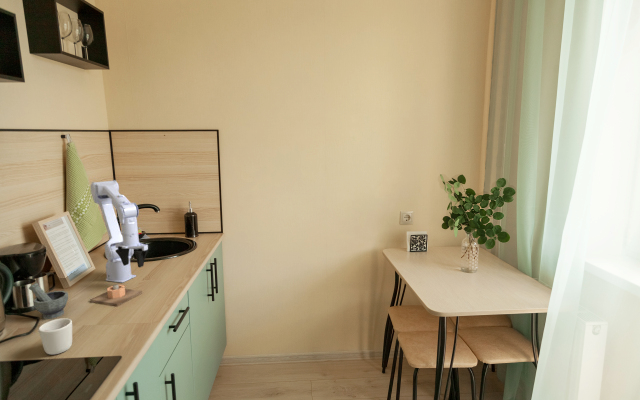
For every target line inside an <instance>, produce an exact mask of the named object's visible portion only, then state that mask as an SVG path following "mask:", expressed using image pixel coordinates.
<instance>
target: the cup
mask: <svg viewBox="0 0 640 400" xmlns="http://www.w3.org/2000/svg"><path fill="white" fill-rule="evenodd" d="M38 333H39V337H40V340H41V343H42V348H43V350H44V352H45V353H46V354H47V355H59V354H61V353H64V352H66V351H68V350H69V349H70V348H71V347H72V344H73V321H72V319H70V318H67V317H66V318H65V317H64V318H62V317H61V318H55V319H51V320H49V321H47V322H44V323H43V324H42V325H40V326H39V328H38Z"/></svg>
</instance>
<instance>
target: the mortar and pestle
mask: <svg viewBox="0 0 640 400" xmlns="http://www.w3.org/2000/svg"><path fill="white" fill-rule="evenodd" d="M28 289H29V290H30V291H31V292H32V293H33V294H34V296H35V298H34V299H33V305H34V306H33V307H34V309H35V310H36V311H37V312H38V313H41V314H42V319H44V320H54V319H58V318H60V317H62V316H63V315H64V314H65V310H64V309H65V308H66V305H67V303H68V301H69V292H68V291H65V290H53V291H49V292H45V291H44V290H43V289H42V288H41V287H40V285H39V283H38V282H35V283H32V284H31V285H30V286H29V287H28Z"/></svg>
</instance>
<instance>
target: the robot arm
mask: <svg viewBox="0 0 640 400" xmlns="http://www.w3.org/2000/svg"><path fill="white" fill-rule="evenodd" d="M90 194H91V196H92V197H91V198H92V200H93V202H94V203H95V204H97V205H98V206H99V208H100V211H101V214H102V217H103V221H104V225H105V227H106V231H107V234H108V237H109V239H108V240H107V241H106V242H105V244H104V252H105V257H106V259H107V261H106V263H105V271H106V279H105V281H107V282H108V281H109V282H112V283H113V282H115V283H124V282H127V281H129V280H132V279H133V278H135V277H137V275H136V274H132V267H131V259H132V256H133V255H135V259H136V263H137V267H138V268H142V267H144V265H145V259H146V256H147V255H148V252H149V245H148V244H144V243H141V242H140V239H139V228H138V217H139V213H140V210H139V207H138V205H137V204H136V202H131V201H130V200H129V199H128V198H127V196H125V195H123V194H121V193H120V186H119V183H118V182H117V180H116V179H114V180H106V181H104V180H103V181H96V182H95V181H92V182H91V183H90ZM114 208H115V209H114ZM115 210H116V211H115ZM115 212H117V216H118V217H117V216H116V213H115ZM118 219H119V223H118ZM119 224H120V225H121V226H120V225H119ZM120 227H121V230H120ZM134 250H135V251H134Z"/></svg>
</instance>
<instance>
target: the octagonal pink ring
mask: <svg viewBox="0 0 640 400" xmlns="http://www.w3.org/2000/svg"><path fill="white" fill-rule="evenodd" d="M118 285H119V289H116V290H113V285H111V286H109V287H107V291H106V292H107V293H108V298H119V297H122V296H124V295H125V289H126V288H125V285H124V284H118Z"/></svg>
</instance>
